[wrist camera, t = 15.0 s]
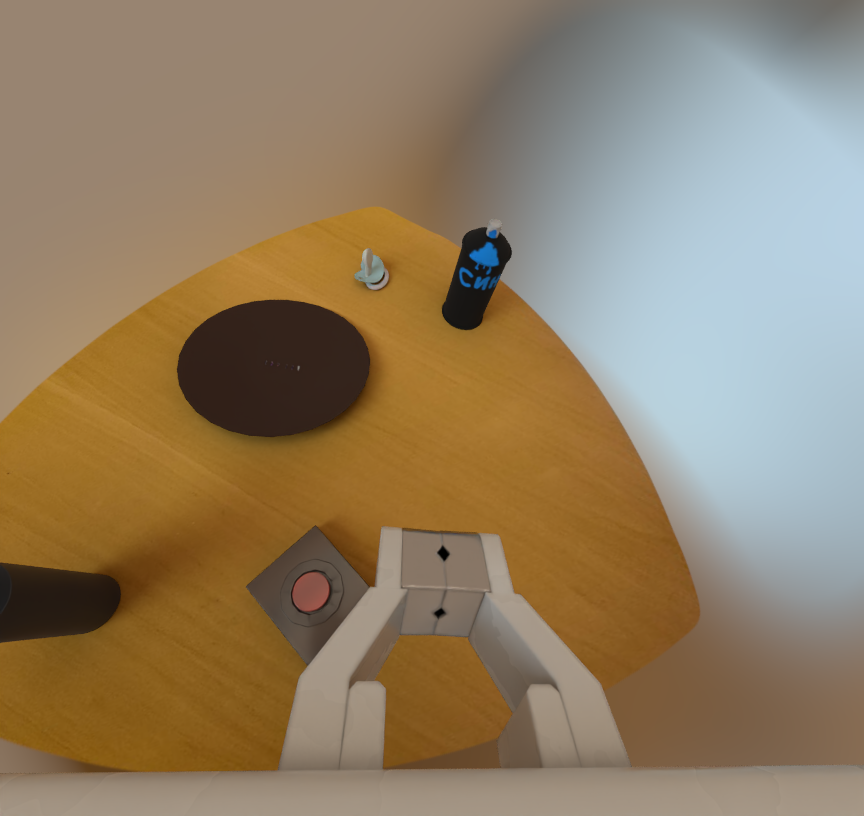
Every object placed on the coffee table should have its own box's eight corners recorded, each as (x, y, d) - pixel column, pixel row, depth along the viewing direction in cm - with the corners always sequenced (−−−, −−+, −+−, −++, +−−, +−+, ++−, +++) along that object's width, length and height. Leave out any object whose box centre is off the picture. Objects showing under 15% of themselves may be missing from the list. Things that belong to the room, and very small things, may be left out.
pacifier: (393, 271, 75) (364, 261, 75) (397, 246, 70) (366, 234, 70) (381, 296, 72) (351, 285, 71) (384, 271, 66) (352, 259, 66)
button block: (377, 597, 48) (379, 597, 44) (313, 666, 44) (309, 673, 40) (317, 528, 51) (314, 522, 47) (250, 587, 46) (241, 585, 42)
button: (337, 591, 44) (336, 590, 43) (309, 619, 42) (307, 620, 41) (315, 565, 45) (314, 564, 43) (287, 592, 43) (284, 591, 42)
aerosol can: (442, 294, 75) (470, 200, 57) (482, 301, 76) (521, 211, 59) (440, 326, 71) (468, 235, 54) (482, 333, 72) (523, 247, 55)
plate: (380, 317, 69) (382, 303, 66) (352, 459, 56) (352, 450, 53) (222, 286, 66) (215, 270, 63) (152, 430, 53) (139, 419, 49)
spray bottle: (107, 670, 40) (-125, 732, 21) (39, 683, 39) (-278, 763, 19) (125, 570, 45) (-54, 544, 25) (64, 579, 43) (-174, 558, 24)
